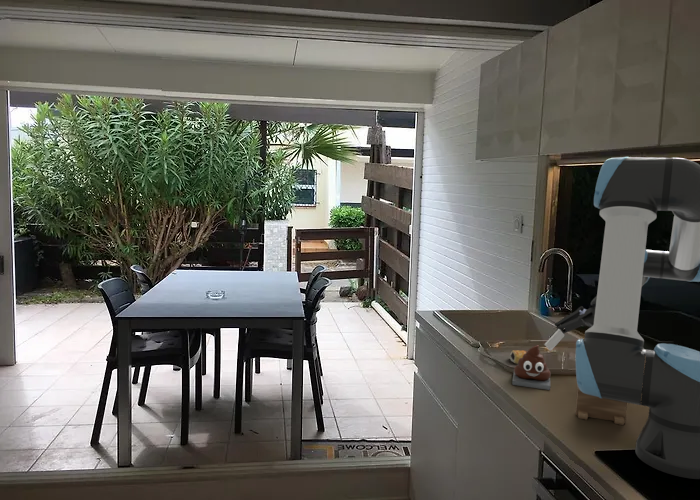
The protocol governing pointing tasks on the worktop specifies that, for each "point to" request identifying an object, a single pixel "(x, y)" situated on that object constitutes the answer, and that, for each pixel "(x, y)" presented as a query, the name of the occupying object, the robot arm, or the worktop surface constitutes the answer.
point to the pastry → (516, 355)
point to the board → (531, 383)
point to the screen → (600, 408)
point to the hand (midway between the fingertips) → (562, 354)
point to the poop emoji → (532, 366)
